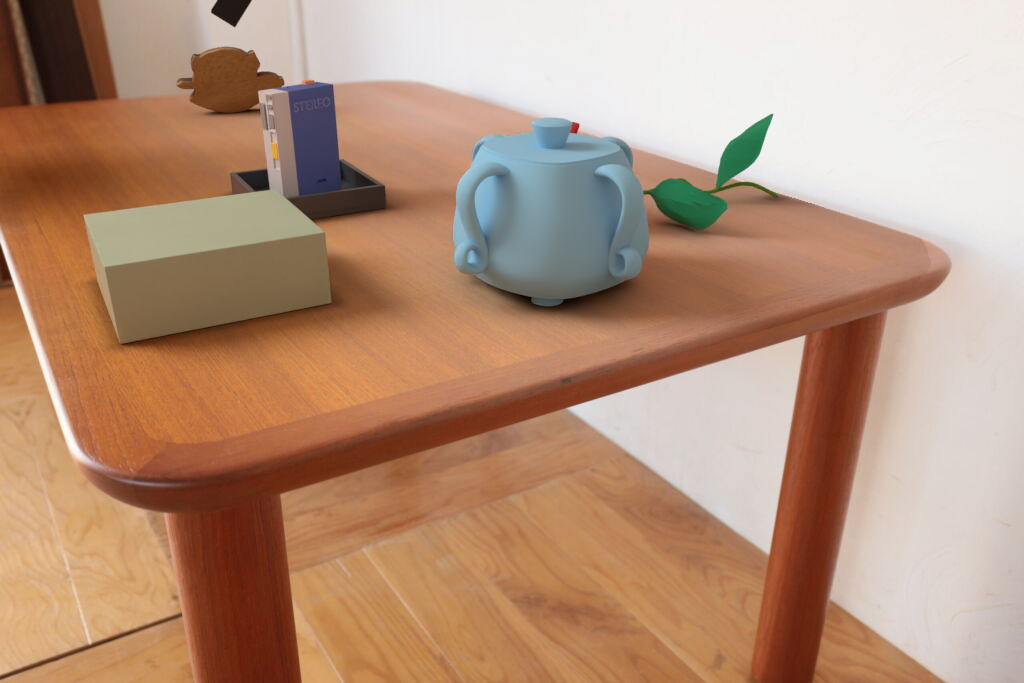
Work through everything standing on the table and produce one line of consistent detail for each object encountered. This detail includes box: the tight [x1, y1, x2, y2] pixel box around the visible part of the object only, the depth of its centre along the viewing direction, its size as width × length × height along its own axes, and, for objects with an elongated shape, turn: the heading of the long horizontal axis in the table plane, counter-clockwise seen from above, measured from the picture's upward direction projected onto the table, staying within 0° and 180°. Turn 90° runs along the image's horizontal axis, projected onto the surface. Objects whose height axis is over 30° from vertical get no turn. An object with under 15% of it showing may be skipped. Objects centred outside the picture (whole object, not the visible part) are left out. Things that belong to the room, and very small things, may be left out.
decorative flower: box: [570, 113, 779, 231], centre depth 90 cm, size 14×30×10 cm, turn 104°
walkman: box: [258, 79, 342, 198], centre depth 95 cm, size 8×3×12 cm, turn 139°
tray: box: [229, 158, 387, 220], centre depth 98 cm, size 13×13×2 cm
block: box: [83, 189, 332, 345], centre depth 73 cm, size 14×16×6 cm
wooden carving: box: [175, 46, 285, 114], centre depth 142 cm, size 16×5×10 cm, turn 114°
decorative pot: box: [452, 117, 650, 307], centre depth 74 cm, size 16×16×14 cm
